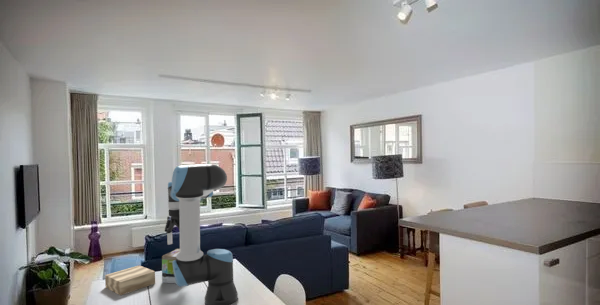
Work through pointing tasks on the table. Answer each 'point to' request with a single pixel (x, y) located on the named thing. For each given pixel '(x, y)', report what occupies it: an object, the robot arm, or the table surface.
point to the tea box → (168, 266)
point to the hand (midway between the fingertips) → (176, 246)
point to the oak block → (129, 279)
